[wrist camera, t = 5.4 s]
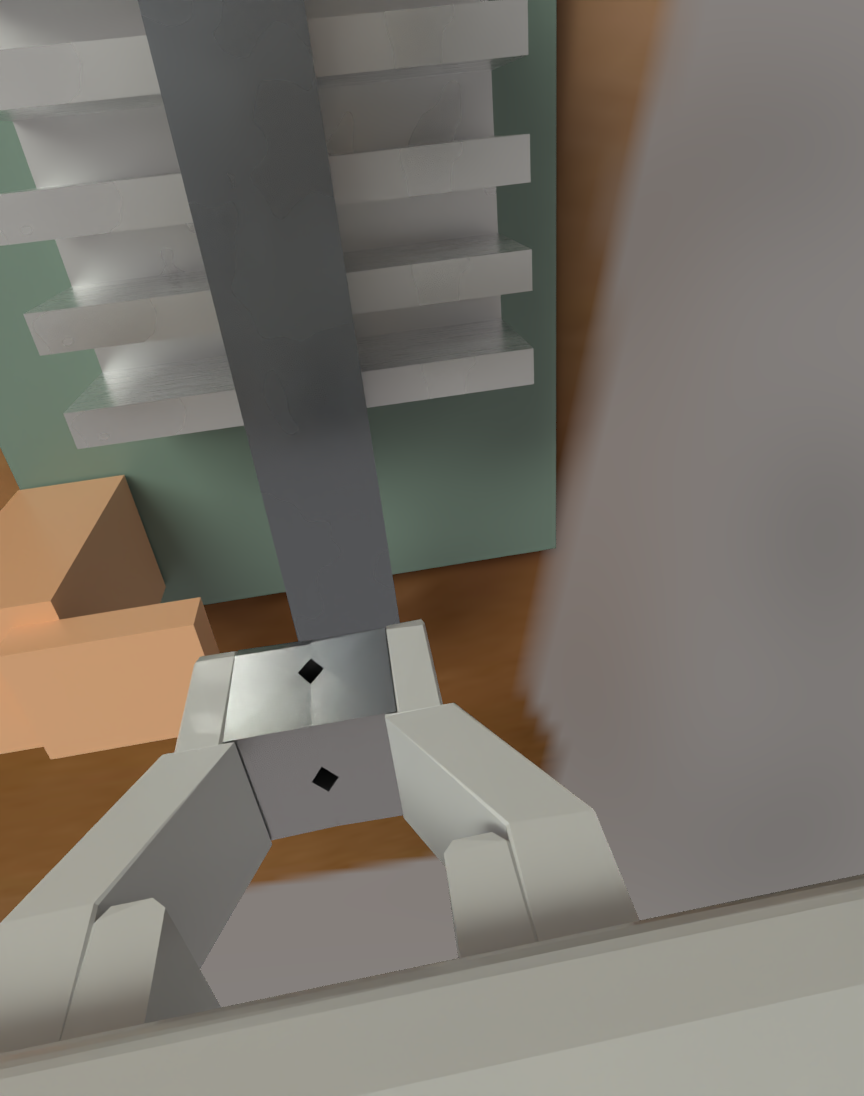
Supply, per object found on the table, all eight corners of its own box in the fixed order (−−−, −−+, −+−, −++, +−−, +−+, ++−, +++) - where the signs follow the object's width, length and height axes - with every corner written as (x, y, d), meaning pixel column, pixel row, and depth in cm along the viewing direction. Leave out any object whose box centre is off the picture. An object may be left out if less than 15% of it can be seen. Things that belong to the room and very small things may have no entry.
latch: (18, 490, 19) (-125, 655, 13) (227, 459, 20) (186, 605, 14) (70, 601, 21) (-31, 790, 15) (259, 571, 22) (235, 743, 16)
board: (-470, -639, 10) (-539, -708, 10) (539, -662, 12) (556, -728, 11) (91, 606, 23) (83, 624, 22) (547, 533, 24) (555, 548, 23)
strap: (-105, -799, 7) (-177, -965, 6) (234, -804, 7) (220, -960, 6) (278, 631, 17) (275, 661, 16) (421, 607, 17) (427, 635, 16)
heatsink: (-171, -508, 11) (-468, -904, 7) (443, -532, 12) (512, -901, 7) (137, 402, 19) (87, 474, 15) (488, 354, 19) (534, 409, 15)
